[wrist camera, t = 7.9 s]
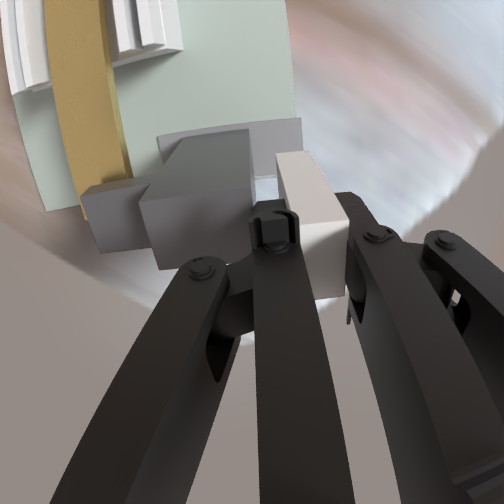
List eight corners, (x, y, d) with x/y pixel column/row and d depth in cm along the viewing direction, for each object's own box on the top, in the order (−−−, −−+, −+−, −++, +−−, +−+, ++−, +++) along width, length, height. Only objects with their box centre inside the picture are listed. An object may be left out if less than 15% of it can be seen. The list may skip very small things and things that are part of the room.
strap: (49, -79, 7) (36, -86, 6) (113, -108, 7) (104, -117, 5) (86, 213, 16) (75, 224, 15) (151, 202, 16) (143, 213, 15)
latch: (132, 147, 19) (61, 216, 11) (248, 128, 19) (251, 187, 11) (142, 189, 21) (86, 276, 13) (254, 173, 20) (259, 260, 12)
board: (7, -35, 10) (-66, -43, 3) (267, -117, 10) (277, -182, 2) (52, 206, 23) (-5, 267, 16) (301, 168, 22) (329, 230, 15)
